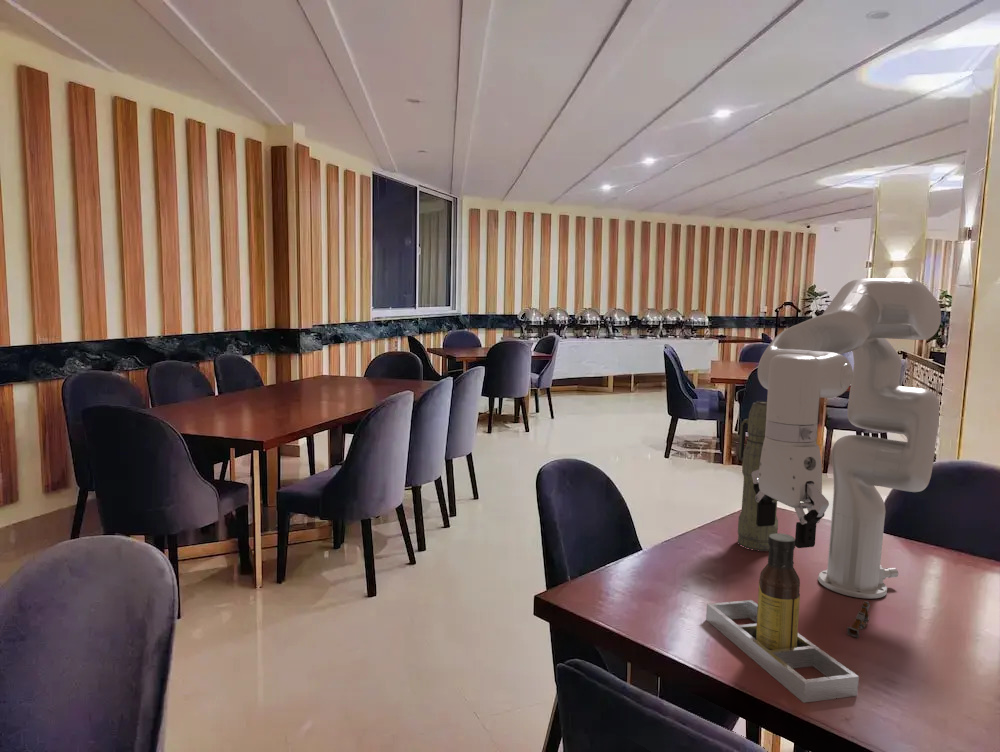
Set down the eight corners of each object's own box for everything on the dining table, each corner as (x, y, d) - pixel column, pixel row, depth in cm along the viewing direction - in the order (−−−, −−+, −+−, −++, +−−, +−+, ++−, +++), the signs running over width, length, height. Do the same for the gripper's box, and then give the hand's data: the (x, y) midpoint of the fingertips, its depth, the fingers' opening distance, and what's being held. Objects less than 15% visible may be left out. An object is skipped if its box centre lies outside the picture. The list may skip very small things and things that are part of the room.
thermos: (775, 556, 153) (787, 407, 150) (725, 543, 161) (735, 401, 157) (787, 547, 160) (798, 403, 156) (739, 535, 167) (748, 398, 164)
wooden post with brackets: (874, 618, 121) (873, 600, 119) (859, 649, 116) (858, 630, 114) (863, 615, 122) (862, 596, 120) (848, 645, 117) (846, 626, 116)
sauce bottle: (777, 642, 113) (786, 528, 111) (804, 661, 107) (814, 541, 105) (745, 646, 111) (754, 531, 109) (771, 666, 105) (781, 544, 103)
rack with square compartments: (750, 615, 122) (751, 599, 122) (857, 695, 97) (858, 676, 97) (706, 619, 120) (707, 603, 120) (803, 702, 95) (805, 683, 95)
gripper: (851, 443, 98) (843, 554, 100) (776, 421, 114) (770, 516, 117) (807, 445, 96) (800, 558, 98) (738, 422, 113) (732, 519, 115)
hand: (784, 535), depth 107 cm, fingers open, 9 cm apart
